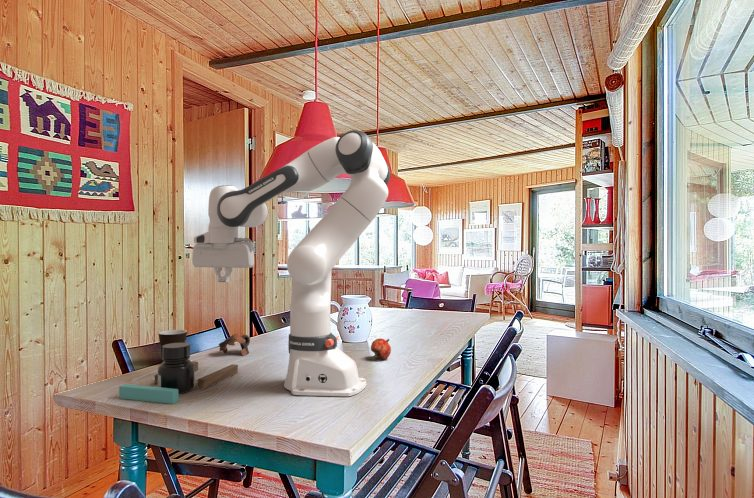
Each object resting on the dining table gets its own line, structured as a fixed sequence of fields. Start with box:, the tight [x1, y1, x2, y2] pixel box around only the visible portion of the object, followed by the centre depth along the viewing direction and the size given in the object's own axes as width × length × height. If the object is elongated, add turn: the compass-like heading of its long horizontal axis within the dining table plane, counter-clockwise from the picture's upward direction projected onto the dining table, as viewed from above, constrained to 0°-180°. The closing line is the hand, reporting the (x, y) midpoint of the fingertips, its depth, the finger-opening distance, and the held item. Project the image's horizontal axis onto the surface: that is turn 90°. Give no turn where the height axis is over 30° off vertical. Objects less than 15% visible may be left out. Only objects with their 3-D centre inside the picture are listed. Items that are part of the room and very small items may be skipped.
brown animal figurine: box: [218, 333, 251, 357], centre depth 162 cm, size 12×10×8 cm
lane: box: [154, 360, 239, 390], centre depth 131 cm, size 16×16×2 cm
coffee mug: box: [158, 329, 188, 364], centre depth 151 cm, size 12×9×10 cm
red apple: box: [369, 338, 392, 361], centre depth 153 cm, size 7×7×10 cm
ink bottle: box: [157, 342, 195, 395], centre depth 120 cm, size 10×9×12 cm
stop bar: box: [118, 383, 179, 405], centre depth 112 cm, size 16×2×3 cm, turn 74°
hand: (223, 282), depth 141 cm, fingers closed
